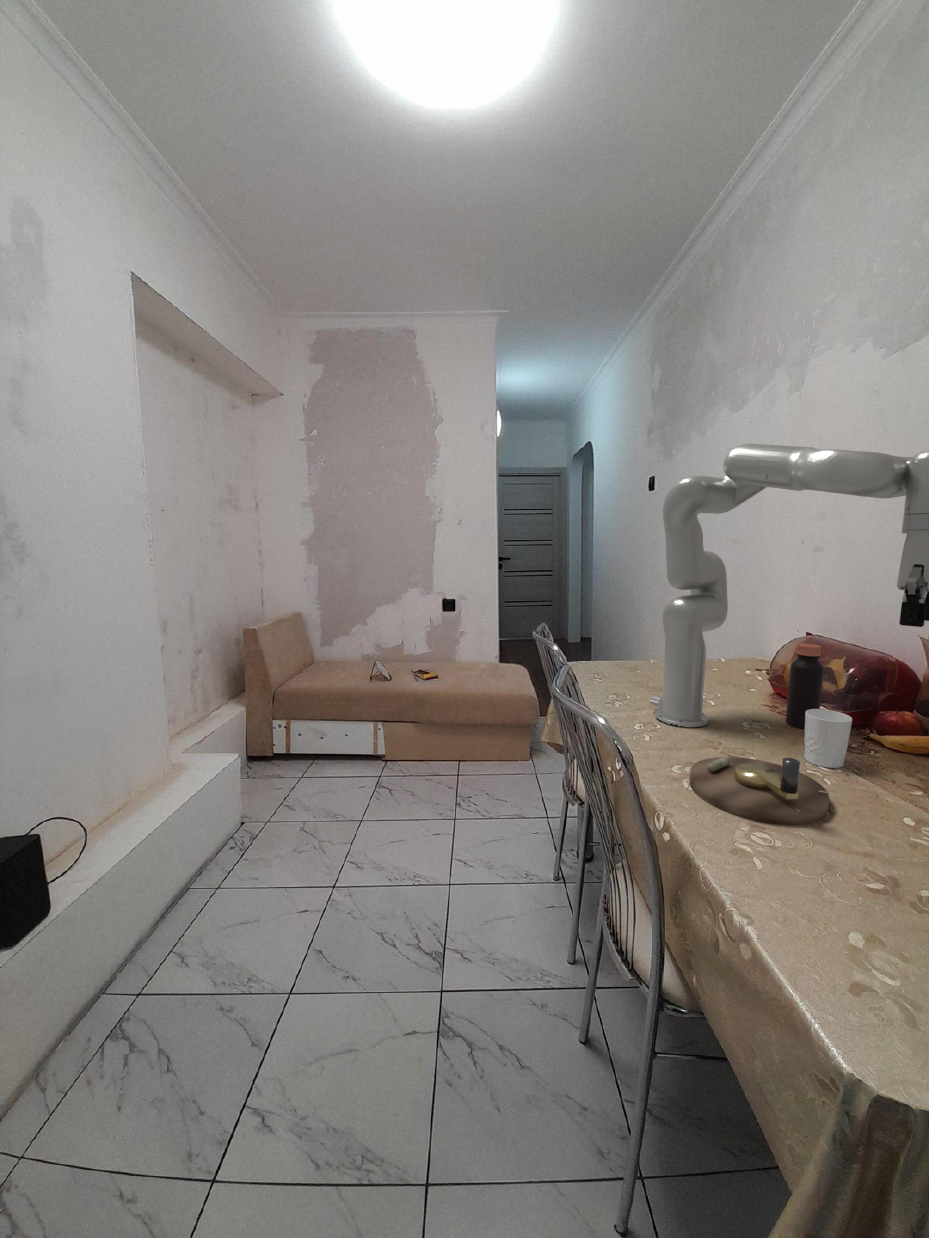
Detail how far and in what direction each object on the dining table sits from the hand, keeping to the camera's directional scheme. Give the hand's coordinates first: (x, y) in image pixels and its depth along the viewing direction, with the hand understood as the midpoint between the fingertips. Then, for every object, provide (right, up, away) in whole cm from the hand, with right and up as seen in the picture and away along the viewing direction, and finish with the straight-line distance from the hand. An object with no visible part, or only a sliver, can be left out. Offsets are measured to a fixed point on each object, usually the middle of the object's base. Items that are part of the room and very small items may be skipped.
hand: (918, 623), depth 94 cm
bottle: (+3, -26, +37) cm, 45 cm away
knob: (-27, -29, -1) cm, 40 cm away
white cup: (-6, -29, +16) cm, 33 cm away
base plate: (-28, -31, +2) cm, 41 cm away
